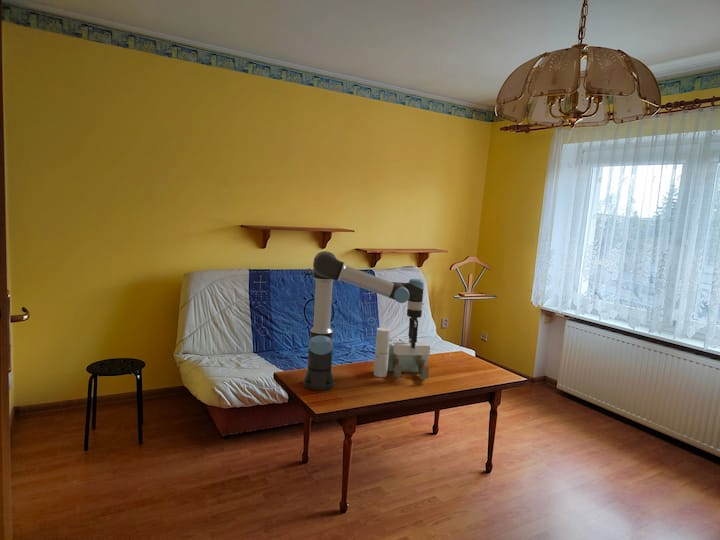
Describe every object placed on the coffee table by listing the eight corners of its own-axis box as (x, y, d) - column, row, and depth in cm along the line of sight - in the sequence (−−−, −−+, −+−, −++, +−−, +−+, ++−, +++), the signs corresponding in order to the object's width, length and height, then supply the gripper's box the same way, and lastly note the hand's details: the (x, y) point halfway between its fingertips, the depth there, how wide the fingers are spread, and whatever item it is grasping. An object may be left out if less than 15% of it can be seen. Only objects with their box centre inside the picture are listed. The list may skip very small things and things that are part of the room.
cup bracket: (389, 382, 239) (391, 355, 237) (386, 370, 257) (388, 345, 255) (432, 384, 239) (434, 357, 238) (425, 371, 258) (427, 347, 256)
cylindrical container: (386, 377, 245) (389, 331, 242) (372, 376, 246) (375, 330, 243) (387, 373, 252) (391, 328, 249) (374, 371, 253) (378, 327, 250)
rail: (395, 354, 240) (396, 345, 240) (393, 351, 245) (394, 342, 245) (429, 355, 242) (430, 345, 242) (427, 352, 247) (427, 343, 247)
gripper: (424, 313, 232) (421, 358, 235) (419, 305, 250) (415, 347, 253) (409, 312, 232) (406, 357, 235) (405, 305, 250) (402, 347, 253)
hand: (411, 352), depth 244 cm, fingers closed on rail, 5 cm apart
